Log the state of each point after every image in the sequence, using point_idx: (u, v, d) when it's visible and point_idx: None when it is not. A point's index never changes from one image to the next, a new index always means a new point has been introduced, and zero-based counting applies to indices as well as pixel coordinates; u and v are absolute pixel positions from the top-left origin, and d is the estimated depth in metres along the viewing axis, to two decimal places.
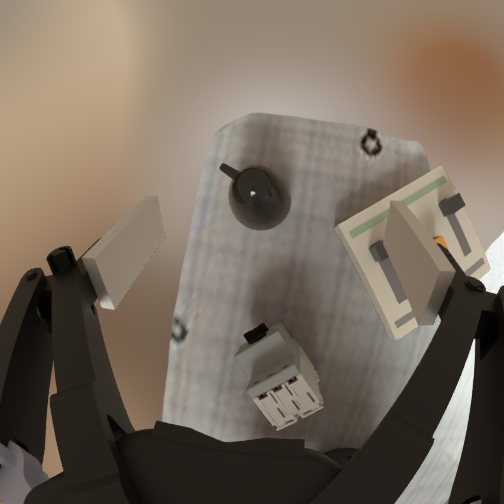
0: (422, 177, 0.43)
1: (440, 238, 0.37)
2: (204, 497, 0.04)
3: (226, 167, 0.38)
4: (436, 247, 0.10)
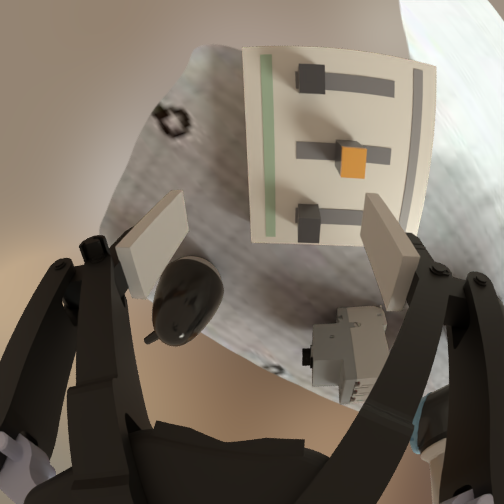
0: (246, 93, 0.27)
1: (345, 153, 0.25)
2: (204, 497, 0.04)
3: (148, 340, 0.37)
4: (403, 235, 0.11)
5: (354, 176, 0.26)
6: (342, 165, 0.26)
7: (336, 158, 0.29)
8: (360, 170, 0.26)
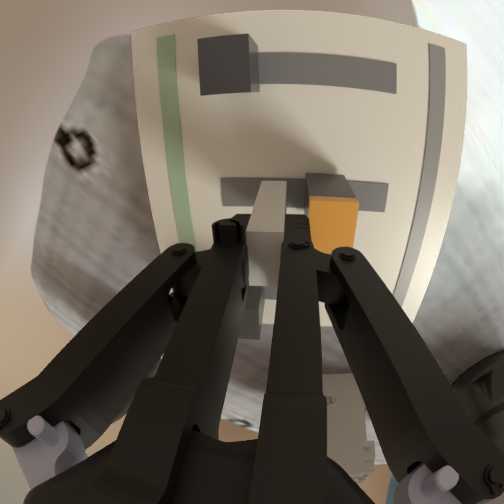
0: (139, 105, 0.16)
1: (315, 211, 0.13)
2: (204, 497, 0.04)
3: None
4: (281, 214, 0.13)
5: None
6: None
7: None
8: (344, 242, 0.14)
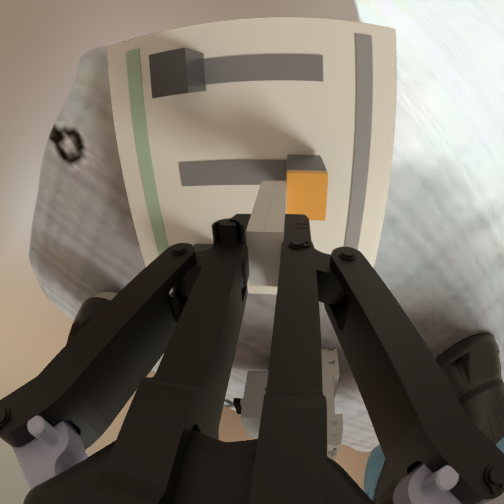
0: (114, 106, 0.19)
1: (291, 182, 0.16)
2: (204, 497, 0.04)
3: None
4: (280, 214, 0.13)
5: (308, 217, 0.17)
6: (288, 201, 0.17)
7: None
8: (318, 208, 0.17)
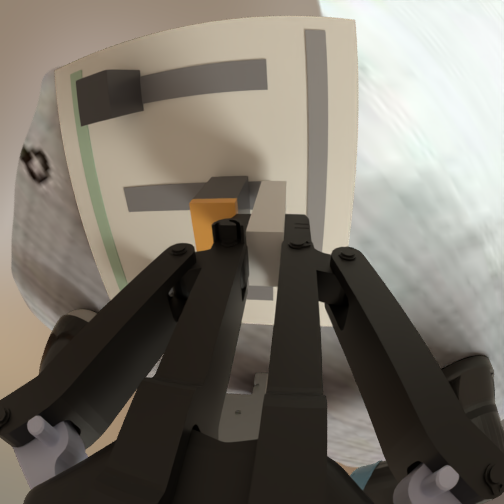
0: (63, 131, 0.18)
1: (195, 213, 0.15)
2: (204, 497, 0.04)
3: None
4: (281, 214, 0.13)
5: None
6: (195, 233, 0.15)
7: None
8: None
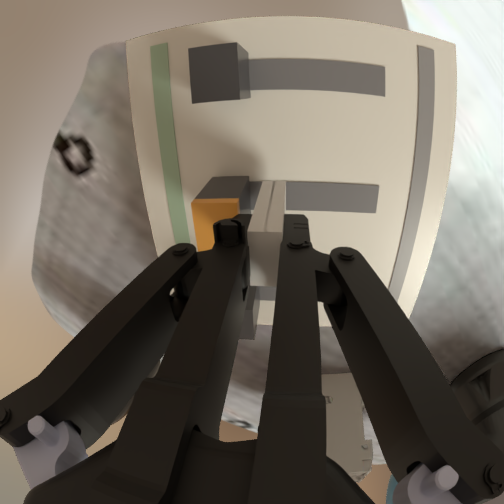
0: (134, 112, 0.17)
1: (197, 213, 0.15)
2: (204, 497, 0.04)
3: None
4: (279, 214, 0.13)
5: None
6: (196, 234, 0.15)
7: None
8: None
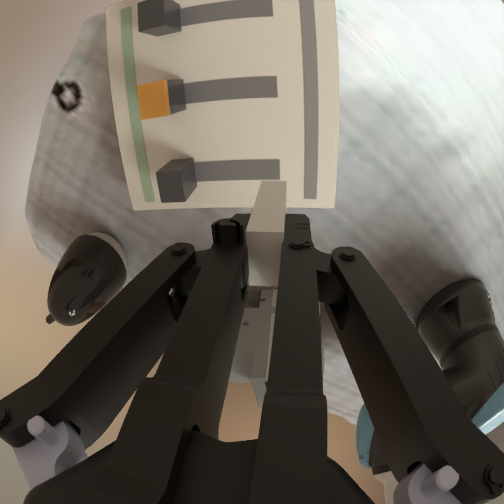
0: (109, 50, 0.20)
1: (140, 91, 0.19)
2: (204, 497, 0.04)
3: (48, 320, 0.31)
4: (281, 214, 0.13)
5: (155, 115, 0.20)
6: (140, 106, 0.19)
7: None
8: (161, 106, 0.19)
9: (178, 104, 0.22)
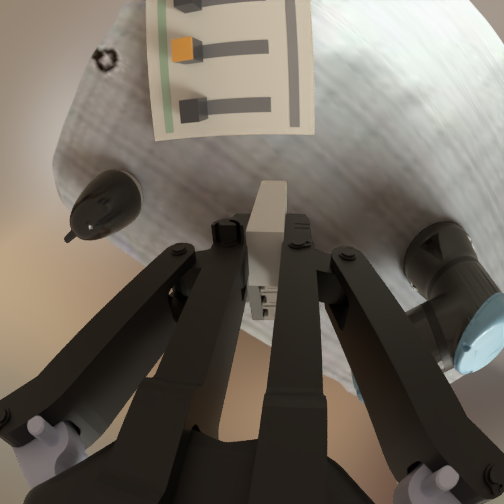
0: (147, 22, 0.27)
1: (173, 43, 0.25)
2: (204, 497, 0.04)
3: (67, 238, 0.37)
4: (281, 214, 0.13)
5: (183, 58, 0.26)
6: (172, 53, 0.26)
7: None
8: (187, 53, 0.26)
9: (198, 55, 0.28)
